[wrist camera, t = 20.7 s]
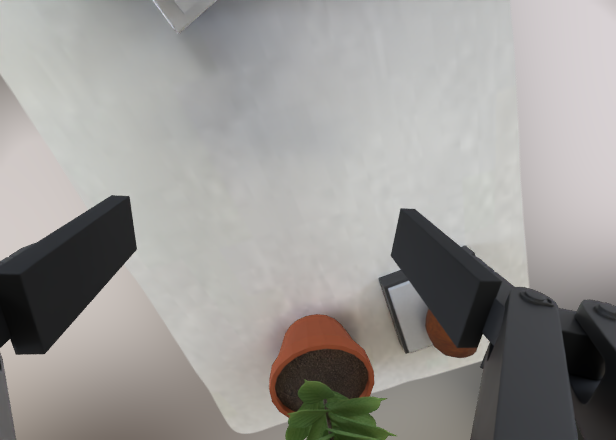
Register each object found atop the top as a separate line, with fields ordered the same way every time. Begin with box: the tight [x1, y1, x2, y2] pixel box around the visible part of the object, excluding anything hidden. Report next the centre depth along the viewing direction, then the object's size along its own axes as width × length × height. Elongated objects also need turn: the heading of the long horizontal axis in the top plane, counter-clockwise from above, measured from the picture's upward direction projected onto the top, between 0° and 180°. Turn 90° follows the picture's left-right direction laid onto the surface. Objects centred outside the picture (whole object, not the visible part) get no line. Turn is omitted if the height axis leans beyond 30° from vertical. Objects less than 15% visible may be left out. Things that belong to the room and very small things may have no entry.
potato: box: [425, 309, 477, 358], centre depth 43 cm, size 8×12×8 cm, turn 16°
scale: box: [379, 246, 475, 354], centre depth 48 cm, size 14×14×3 cm
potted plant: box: [269, 314, 396, 440], centre depth 36 cm, size 15×15×30 cm
